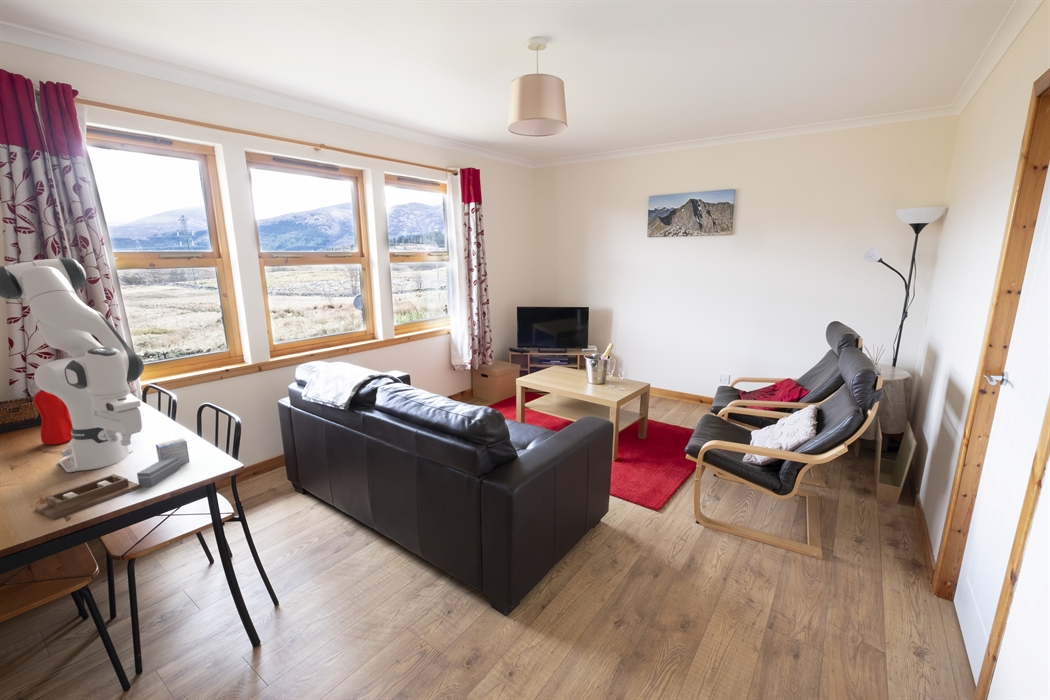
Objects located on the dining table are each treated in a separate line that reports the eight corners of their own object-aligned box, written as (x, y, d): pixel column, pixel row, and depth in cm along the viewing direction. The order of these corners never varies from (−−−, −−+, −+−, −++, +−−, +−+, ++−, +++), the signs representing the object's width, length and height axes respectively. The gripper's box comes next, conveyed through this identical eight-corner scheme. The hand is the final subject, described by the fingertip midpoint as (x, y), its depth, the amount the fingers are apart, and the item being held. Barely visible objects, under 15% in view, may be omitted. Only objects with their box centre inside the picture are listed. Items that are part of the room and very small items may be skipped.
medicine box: (186, 460, 163) (183, 437, 161) (190, 463, 160) (186, 440, 159) (159, 467, 157) (155, 444, 155) (162, 471, 154) (158, 447, 153)
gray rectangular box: (139, 488, 143) (136, 473, 142) (168, 470, 155) (166, 457, 154) (152, 487, 143) (149, 473, 142) (180, 470, 155) (178, 457, 154)
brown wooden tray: (35, 510, 130) (33, 498, 129) (120, 480, 148) (118, 470, 147) (55, 519, 125) (52, 508, 124) (140, 487, 143) (138, 477, 142)
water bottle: (87, 435, 187) (76, 377, 183) (58, 446, 177) (45, 384, 172) (68, 435, 188) (56, 376, 184) (37, 445, 178) (24, 383, 173)
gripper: (80, 399, 139) (88, 441, 141) (118, 407, 131) (125, 452, 133) (106, 394, 144) (113, 434, 147) (143, 401, 136) (150, 444, 139)
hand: (119, 443), depth 140 cm, fingers open, 6 cm apart
